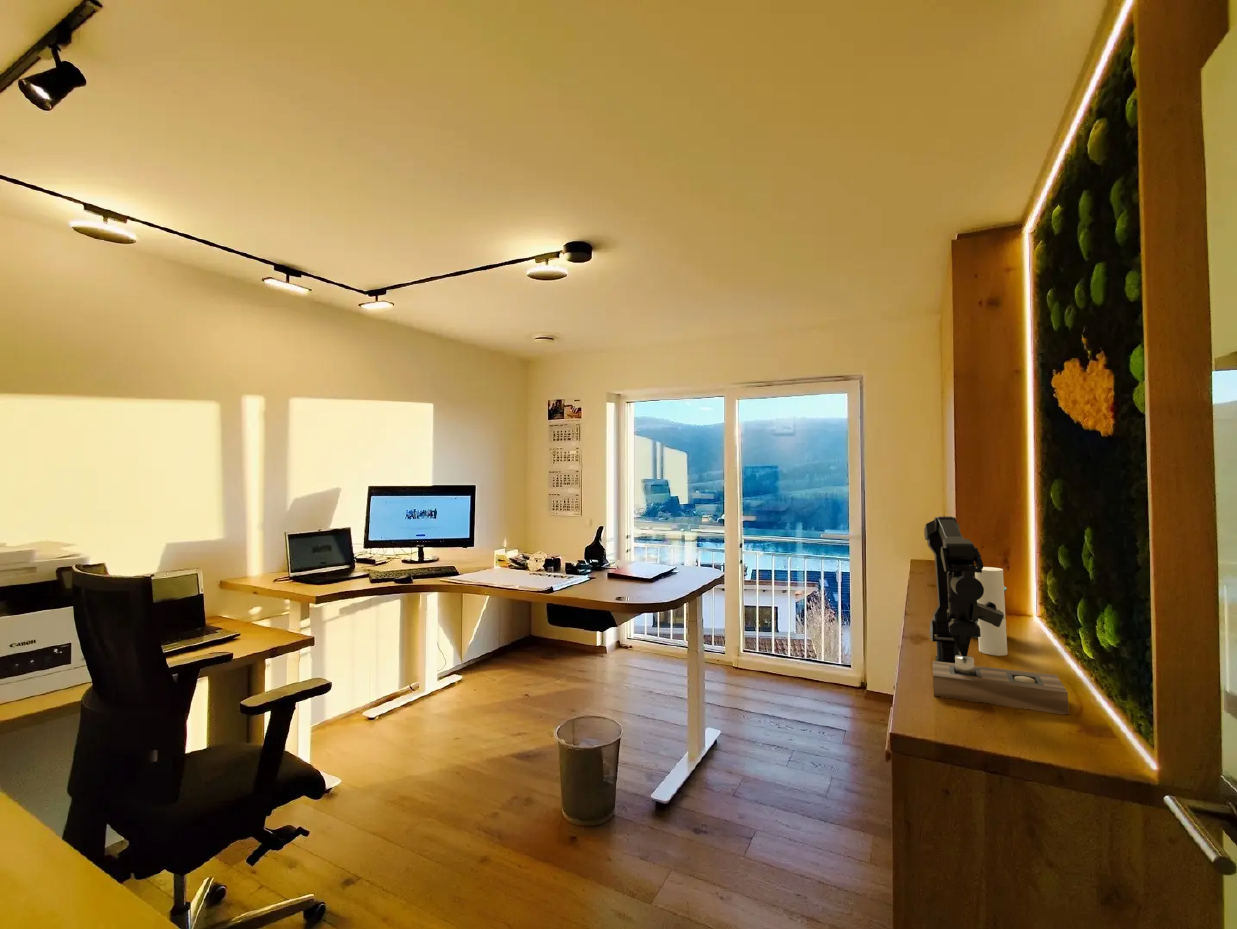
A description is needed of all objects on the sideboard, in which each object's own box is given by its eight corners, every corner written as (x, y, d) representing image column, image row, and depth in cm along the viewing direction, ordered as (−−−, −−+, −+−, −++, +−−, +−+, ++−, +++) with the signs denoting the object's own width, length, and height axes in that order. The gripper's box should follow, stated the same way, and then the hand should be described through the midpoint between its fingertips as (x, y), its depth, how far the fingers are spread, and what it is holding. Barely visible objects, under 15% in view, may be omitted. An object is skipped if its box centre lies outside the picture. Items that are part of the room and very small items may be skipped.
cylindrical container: (998, 648, 169) (994, 566, 170) (1012, 655, 162) (1008, 570, 163) (974, 648, 170) (969, 567, 171) (987, 655, 163) (982, 570, 164)
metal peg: (955, 673, 139) (954, 654, 139) (974, 675, 137) (973, 656, 137) (956, 678, 136) (955, 658, 136) (975, 680, 134) (974, 661, 134)
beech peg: (1014, 695, 133) (1013, 675, 133) (1034, 697, 131) (1033, 677, 131) (1016, 701, 130) (1015, 680, 130) (1037, 704, 128) (1036, 683, 128)
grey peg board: (933, 679, 145) (932, 660, 145) (1057, 695, 132) (1056, 675, 132) (933, 696, 135) (932, 675, 135) (1068, 715, 122) (1067, 692, 122)
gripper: (1005, 603, 125) (1008, 672, 125) (995, 588, 141) (999, 649, 141) (948, 599, 131) (951, 665, 130) (945, 585, 147) (948, 644, 146)
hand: (964, 655), depth 137 cm, fingers closed
